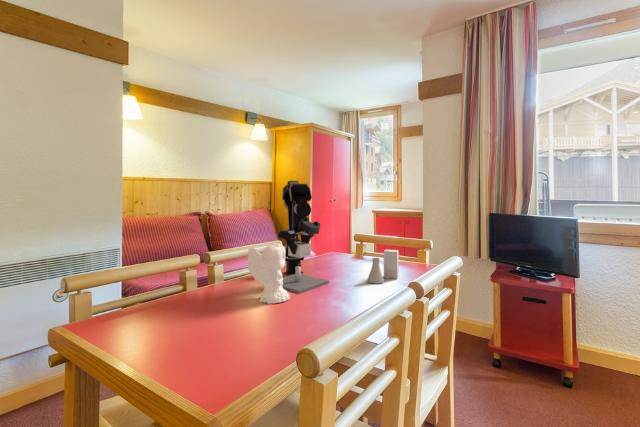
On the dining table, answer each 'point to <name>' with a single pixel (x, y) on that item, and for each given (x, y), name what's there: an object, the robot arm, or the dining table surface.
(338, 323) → the dining table surface
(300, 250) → the grey hollow square block
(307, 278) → the post plate
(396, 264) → the skincare box
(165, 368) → the dining table surface
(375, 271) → the flask
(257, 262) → the cherub figurine
